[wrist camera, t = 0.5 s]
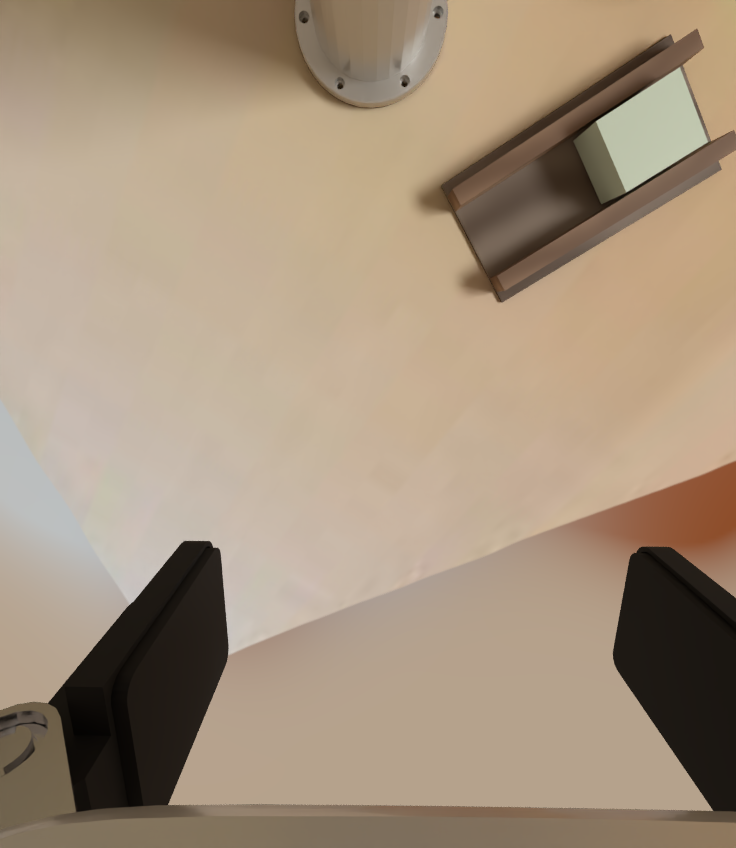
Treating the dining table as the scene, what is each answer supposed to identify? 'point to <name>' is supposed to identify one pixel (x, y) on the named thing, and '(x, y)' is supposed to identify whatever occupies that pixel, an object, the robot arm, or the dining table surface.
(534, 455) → the dining table surface
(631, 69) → the chute
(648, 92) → the sage block
